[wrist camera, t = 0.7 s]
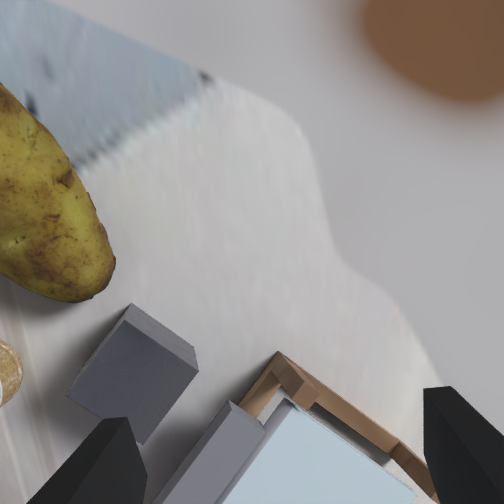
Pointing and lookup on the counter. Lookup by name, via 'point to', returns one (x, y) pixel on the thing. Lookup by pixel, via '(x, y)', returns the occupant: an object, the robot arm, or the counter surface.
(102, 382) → the iron block
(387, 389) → the counter surface
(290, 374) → the frame
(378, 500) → the trapdoor
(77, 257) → the potato
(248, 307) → the counter surface
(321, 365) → the counter surface
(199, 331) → the counter surface
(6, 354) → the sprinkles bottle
